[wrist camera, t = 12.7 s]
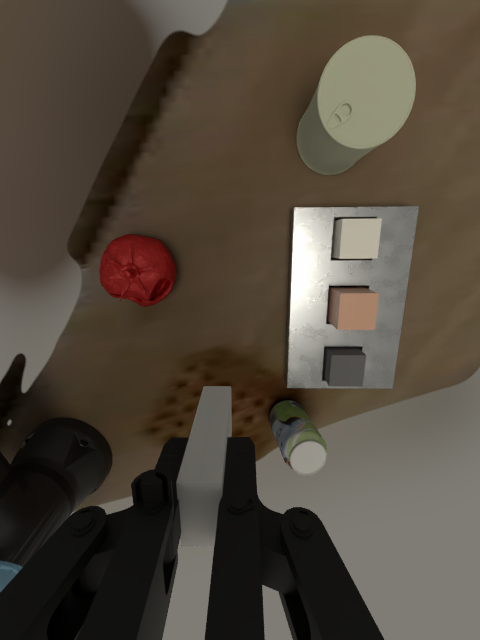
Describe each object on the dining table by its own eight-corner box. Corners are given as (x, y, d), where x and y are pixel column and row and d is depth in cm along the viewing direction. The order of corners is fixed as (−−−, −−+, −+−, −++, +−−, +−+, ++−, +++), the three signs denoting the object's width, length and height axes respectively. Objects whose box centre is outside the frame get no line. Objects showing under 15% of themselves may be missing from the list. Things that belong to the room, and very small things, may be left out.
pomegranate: (106, 243, 43) (67, 242, 34) (170, 227, 42) (148, 221, 33) (127, 307, 45) (95, 323, 36) (189, 293, 44) (172, 306, 35)
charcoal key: (320, 371, 46) (329, 386, 42) (322, 343, 45) (331, 355, 40) (350, 371, 46) (362, 386, 42) (353, 343, 45) (366, 355, 40)
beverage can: (261, 413, 49) (265, 466, 38) (293, 385, 48) (307, 431, 36) (286, 435, 50) (298, 494, 39) (318, 409, 49) (340, 461, 37)
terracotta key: (327, 319, 43) (337, 329, 38) (329, 287, 41) (340, 293, 36) (360, 319, 42) (374, 329, 38) (363, 287, 41) (379, 293, 36)
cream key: (328, 256, 42) (339, 258, 37) (331, 221, 40) (342, 218, 36) (362, 256, 42) (377, 258, 37) (365, 221, 40) (382, 218, 36)
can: (282, 131, 38) (297, 84, 27) (341, 78, 36) (385, 2, 25) (322, 190, 40) (353, 169, 28) (380, 142, 38) (438, 99, 27)
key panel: (284, 379, 47) (287, 388, 45) (290, 210, 41) (294, 207, 38) (383, 379, 47) (392, 388, 44) (406, 208, 40) (418, 206, 37)
